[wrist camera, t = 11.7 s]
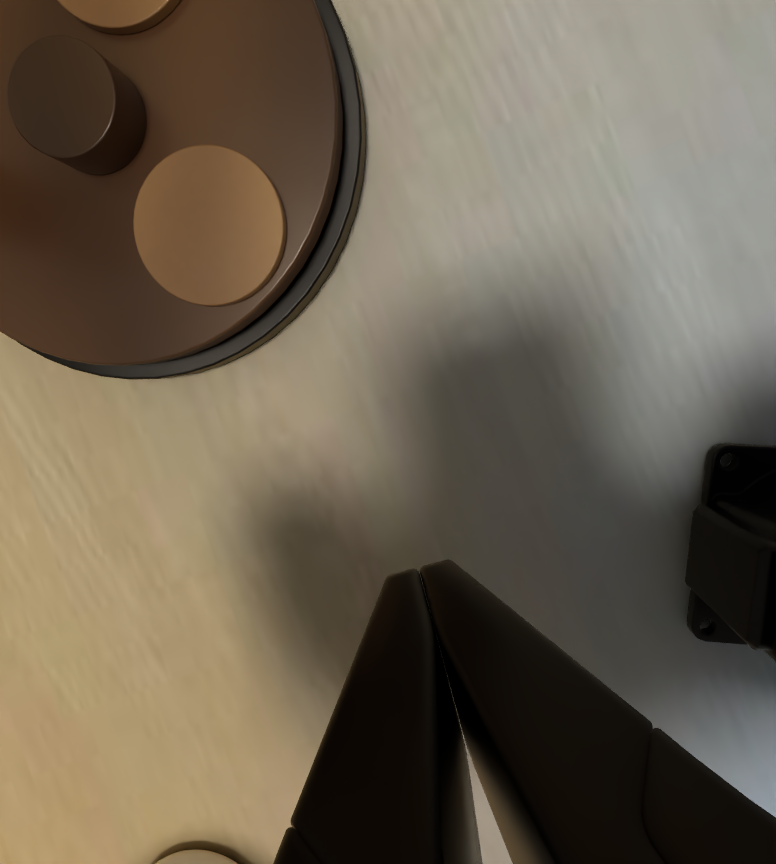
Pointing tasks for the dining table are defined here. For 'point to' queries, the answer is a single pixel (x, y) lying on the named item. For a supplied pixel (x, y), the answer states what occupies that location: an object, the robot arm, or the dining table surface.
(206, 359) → the base
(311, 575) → the dining table surface
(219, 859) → the drinking glass
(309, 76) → the turntable with crank handle
